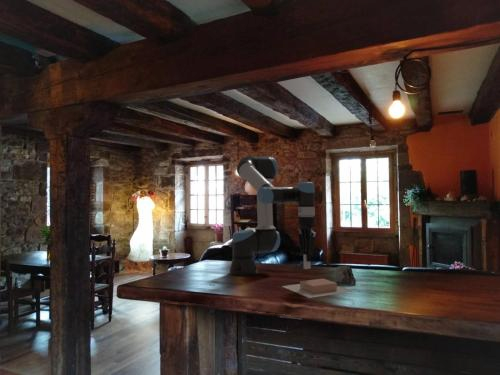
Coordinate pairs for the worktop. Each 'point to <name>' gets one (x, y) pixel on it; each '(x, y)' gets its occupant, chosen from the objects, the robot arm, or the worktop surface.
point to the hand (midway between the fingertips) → (307, 268)
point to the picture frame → (318, 285)
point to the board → (310, 295)
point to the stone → (345, 275)
